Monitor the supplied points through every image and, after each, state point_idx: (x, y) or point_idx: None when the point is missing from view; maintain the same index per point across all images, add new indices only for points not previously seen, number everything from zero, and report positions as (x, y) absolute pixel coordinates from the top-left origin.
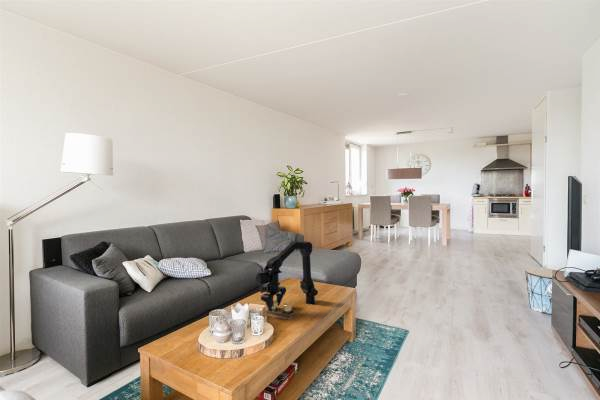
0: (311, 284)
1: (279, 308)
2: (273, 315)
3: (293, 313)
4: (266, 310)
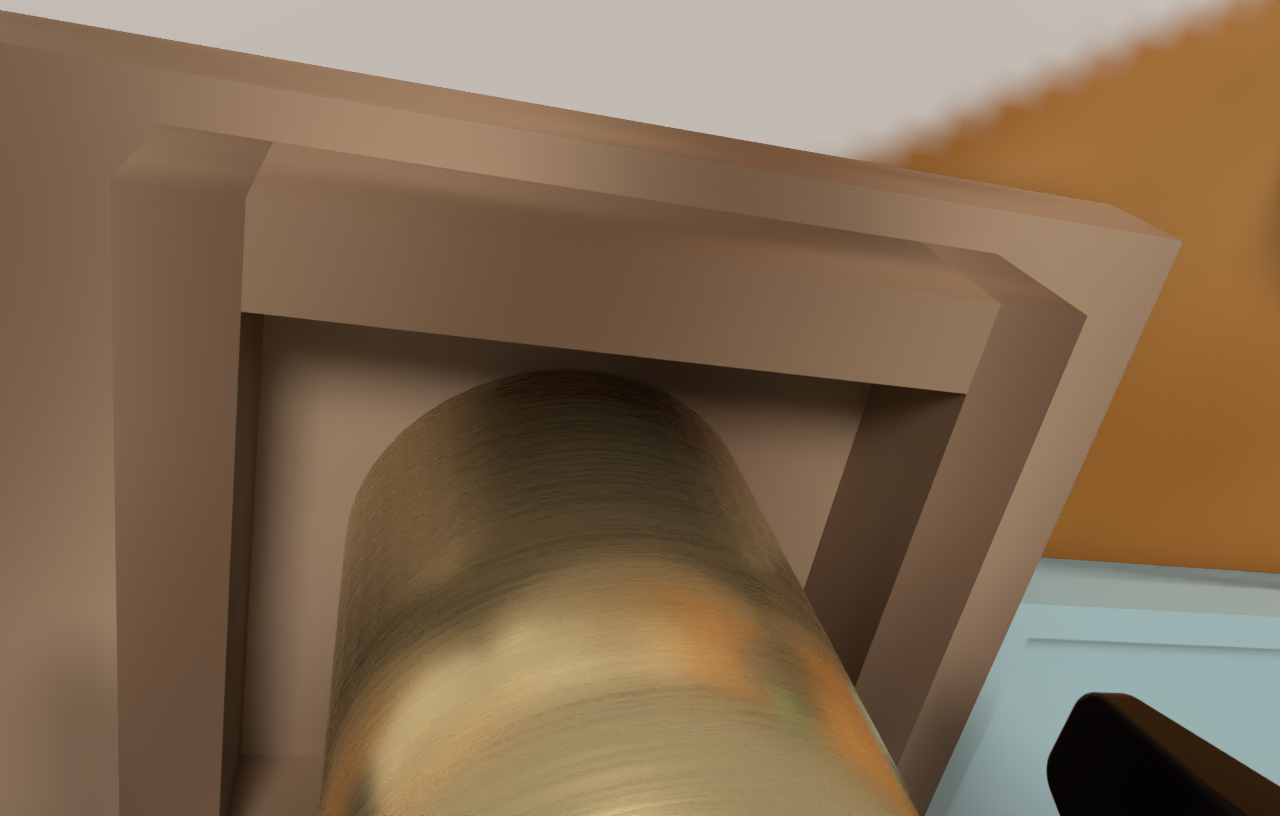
0: None
1: None
2: (80, 700)
3: None
4: (207, 225)
